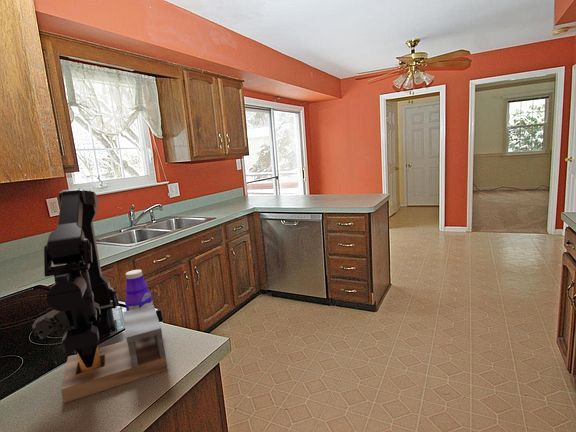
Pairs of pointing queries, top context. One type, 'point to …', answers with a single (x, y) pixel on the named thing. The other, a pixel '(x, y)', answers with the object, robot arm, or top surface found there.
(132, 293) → the bottle
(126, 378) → the socket block
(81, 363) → the peg
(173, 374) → the top surface
